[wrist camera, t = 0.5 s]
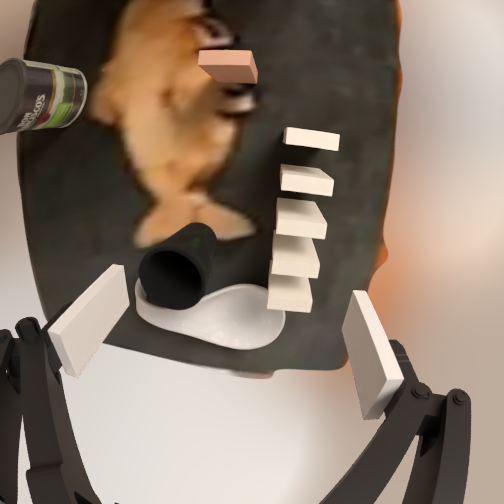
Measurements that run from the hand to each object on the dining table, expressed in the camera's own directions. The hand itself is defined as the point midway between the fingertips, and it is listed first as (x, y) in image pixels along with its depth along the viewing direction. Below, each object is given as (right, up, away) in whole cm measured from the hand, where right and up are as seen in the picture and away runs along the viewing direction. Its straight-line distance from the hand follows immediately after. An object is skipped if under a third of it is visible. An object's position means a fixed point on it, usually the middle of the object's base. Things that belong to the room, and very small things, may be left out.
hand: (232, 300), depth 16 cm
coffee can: (-29, +27, +18) cm, 43 cm away
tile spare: (-1, +25, +16) cm, 30 cm away
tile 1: (+8, +17, +19) cm, 26 cm away
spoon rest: (-6, -5, +29) cm, 30 cm away
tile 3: (+7, +9, +22) cm, 25 cm away
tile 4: (+6, +5, +24) cm, 25 cm away
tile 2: (+7, +13, +20) cm, 25 cm away
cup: (-7, +4, +25) cm, 27 cm away
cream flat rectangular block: (+6, 0, +26) cm, 26 cm away
